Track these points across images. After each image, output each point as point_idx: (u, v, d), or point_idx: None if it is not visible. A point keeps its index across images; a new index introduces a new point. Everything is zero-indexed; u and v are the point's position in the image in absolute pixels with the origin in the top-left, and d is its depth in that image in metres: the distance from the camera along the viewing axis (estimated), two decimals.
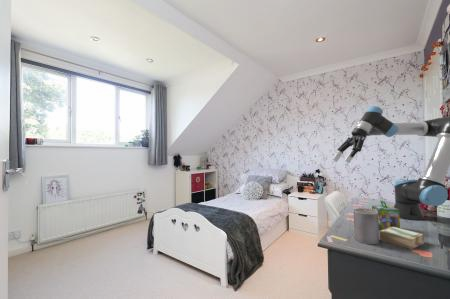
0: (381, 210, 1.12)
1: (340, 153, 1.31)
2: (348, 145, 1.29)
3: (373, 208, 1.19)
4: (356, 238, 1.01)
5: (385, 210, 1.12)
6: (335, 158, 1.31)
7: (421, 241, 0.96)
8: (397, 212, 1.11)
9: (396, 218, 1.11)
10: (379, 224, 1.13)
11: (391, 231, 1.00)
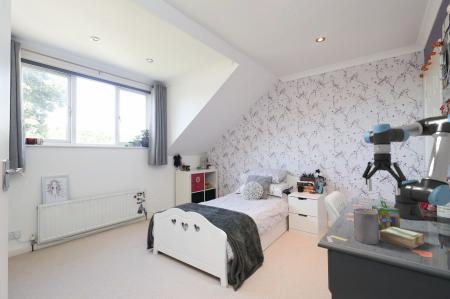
0: (381, 210, 1.12)
1: (370, 181, 1.22)
2: (375, 171, 1.20)
3: (373, 208, 1.19)
4: (356, 238, 1.01)
5: (385, 210, 1.12)
6: (369, 188, 1.22)
7: (421, 241, 0.96)
8: (397, 212, 1.11)
9: (396, 218, 1.11)
10: (379, 224, 1.13)
11: (391, 231, 1.00)
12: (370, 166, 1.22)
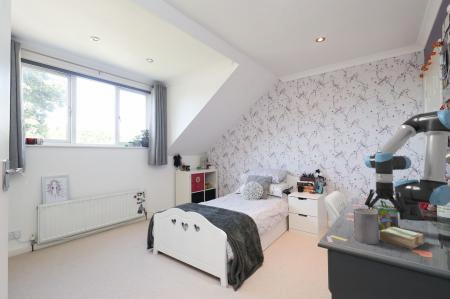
0: (381, 210, 1.12)
1: None
2: (378, 199, 1.19)
3: (373, 208, 1.19)
4: (356, 238, 1.01)
5: (385, 210, 1.12)
6: None
7: (421, 241, 0.96)
8: (397, 212, 1.11)
9: (396, 218, 1.11)
10: (379, 224, 1.13)
11: (391, 231, 1.00)
12: (372, 194, 1.21)
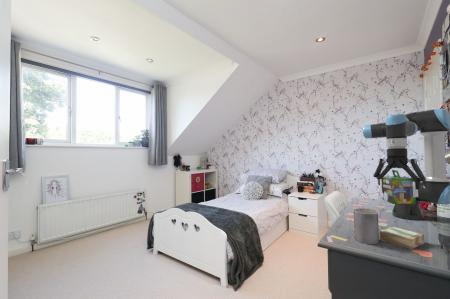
0: (393, 179, 0.97)
1: None
2: (389, 169, 1.04)
3: (383, 179, 1.04)
4: (356, 238, 1.01)
5: (398, 179, 0.97)
6: (382, 189, 1.06)
7: (421, 241, 0.96)
8: (412, 181, 0.96)
9: (410, 188, 0.96)
10: (391, 196, 0.98)
11: (391, 231, 1.00)
12: (382, 164, 1.06)
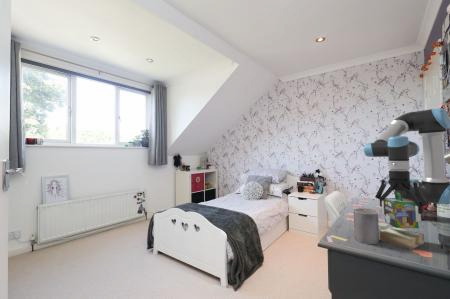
0: (396, 203, 0.96)
1: None
2: (391, 191, 1.03)
3: (385, 201, 1.03)
4: (356, 238, 1.01)
5: (400, 203, 0.96)
6: (384, 211, 1.05)
7: (421, 241, 0.96)
8: (415, 205, 0.95)
9: (413, 212, 0.95)
10: (393, 219, 0.97)
11: (391, 231, 1.00)
12: (384, 185, 1.05)
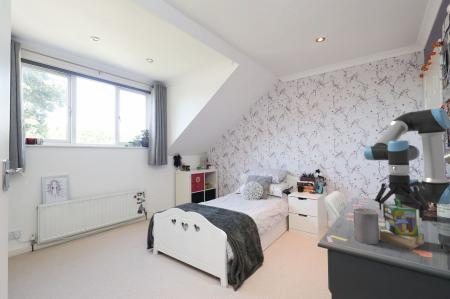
0: (395, 210, 0.96)
1: None
2: (391, 194, 1.03)
3: (385, 207, 1.03)
4: (356, 238, 1.01)
5: (400, 210, 0.96)
6: None
7: (421, 241, 0.96)
8: (414, 212, 0.95)
9: (413, 219, 0.95)
10: (393, 226, 0.97)
11: None
12: (384, 189, 1.05)
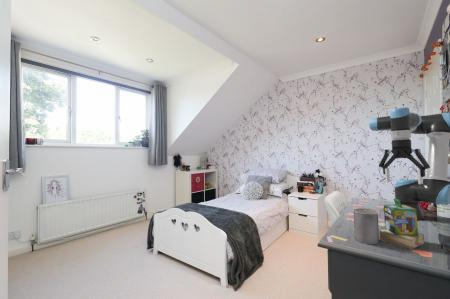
0: (395, 210, 0.96)
1: (388, 170, 1.14)
2: (394, 159, 1.11)
3: (385, 207, 1.03)
4: (356, 238, 1.01)
5: (400, 210, 0.96)
6: (387, 178, 1.13)
7: (421, 241, 0.96)
8: (414, 212, 0.95)
9: (413, 219, 0.95)
10: (393, 226, 0.97)
11: None
12: (387, 154, 1.13)
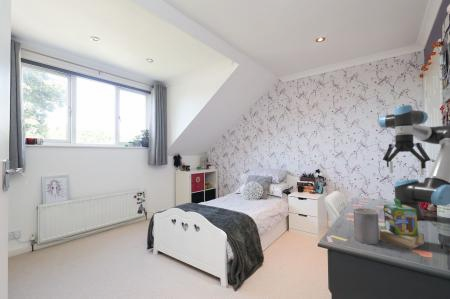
0: (395, 210, 0.96)
1: (391, 163, 1.23)
2: (397, 153, 1.21)
3: (385, 207, 1.03)
4: (356, 238, 1.01)
5: (400, 210, 0.96)
6: (391, 170, 1.23)
7: (421, 241, 0.96)
8: (414, 212, 0.95)
9: (413, 219, 0.95)
10: (393, 226, 0.97)
11: None
12: (391, 148, 1.23)
